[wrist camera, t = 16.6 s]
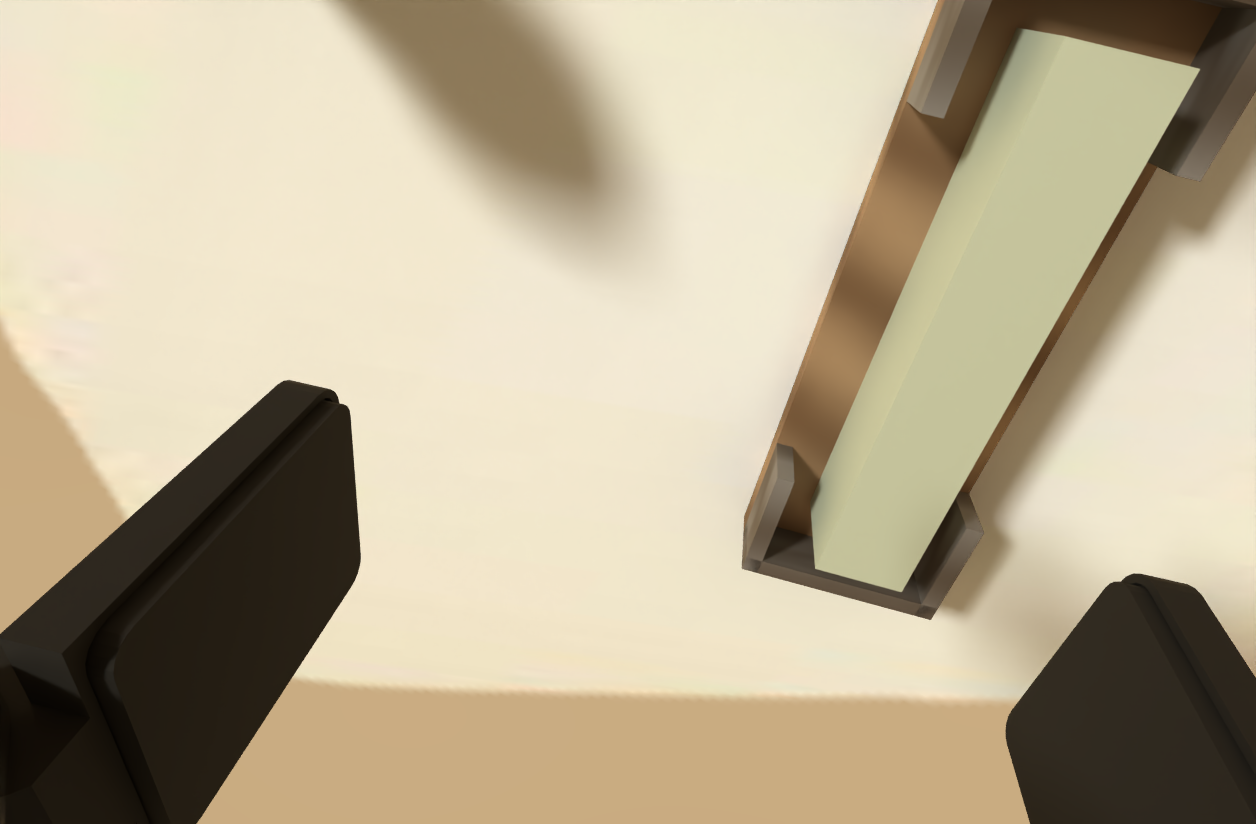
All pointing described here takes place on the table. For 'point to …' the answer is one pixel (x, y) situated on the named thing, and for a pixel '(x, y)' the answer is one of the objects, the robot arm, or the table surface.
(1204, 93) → the cradle
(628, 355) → the table surface
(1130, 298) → the table surface
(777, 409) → the table surface
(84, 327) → the table surface
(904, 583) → the slat
